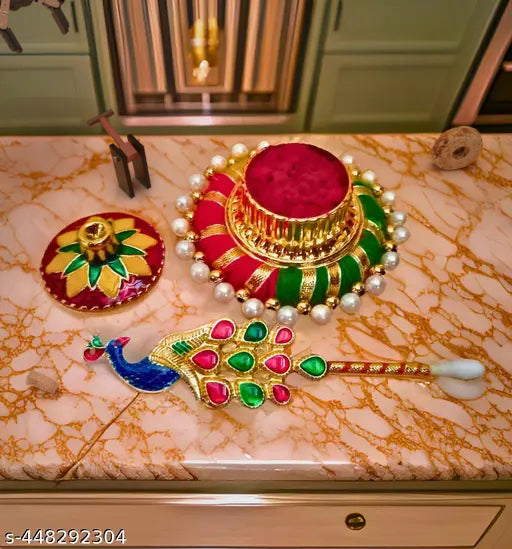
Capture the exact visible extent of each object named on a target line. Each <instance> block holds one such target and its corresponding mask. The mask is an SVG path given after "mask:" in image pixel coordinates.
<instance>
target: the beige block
mask: <svg viewBox="0 0 512 549" xmlns="http://www.w3.org/2000/svg"><path fill="white" fill-rule="evenodd" d="M30 385H31V386H34V387H35V388H37V389H40V390H41V391H44V392H47V393H50V394H55V392H56V391H57V390H58V387H59V383H58V382H57V381H56V380H54V379H53V378H52V377H50V376H49V375H46V374H44V373H42V372H40V371H36V370H35V369H30V371H29V373H28V374H27V376H26V378H25V386H30Z"/></svg>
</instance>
